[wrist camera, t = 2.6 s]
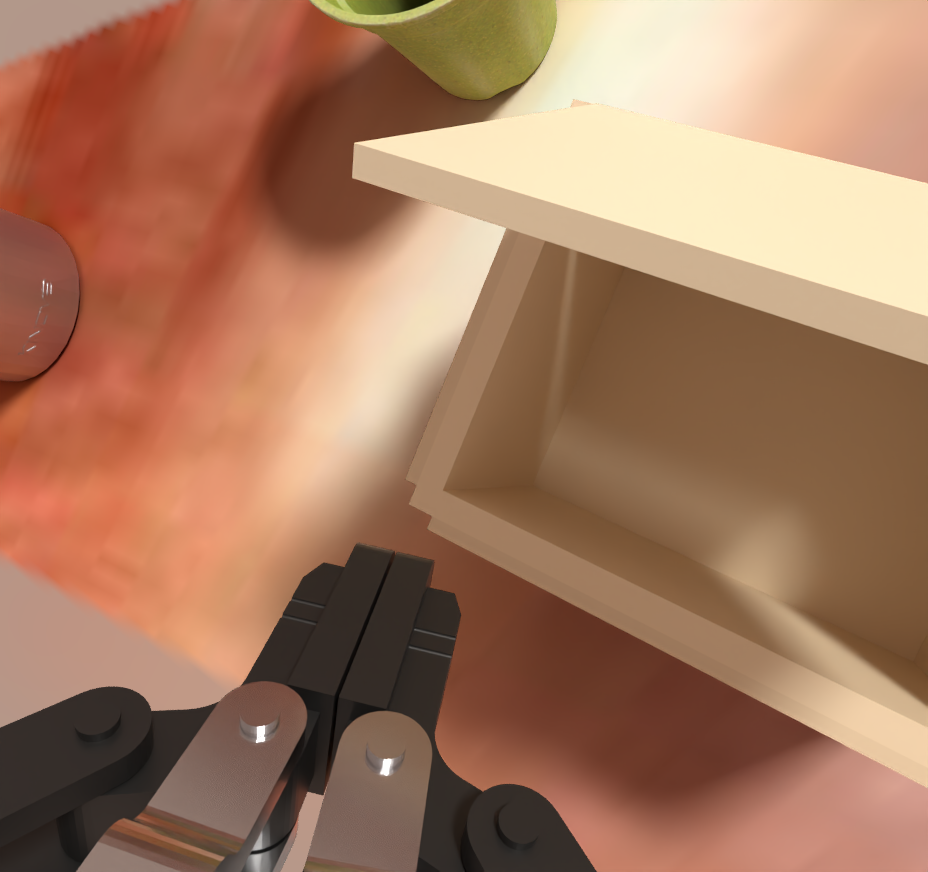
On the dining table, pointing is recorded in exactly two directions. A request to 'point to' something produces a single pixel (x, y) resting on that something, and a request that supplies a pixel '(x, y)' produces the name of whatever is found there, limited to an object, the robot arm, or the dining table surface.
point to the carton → (698, 484)
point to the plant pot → (459, 37)
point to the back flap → (688, 212)
